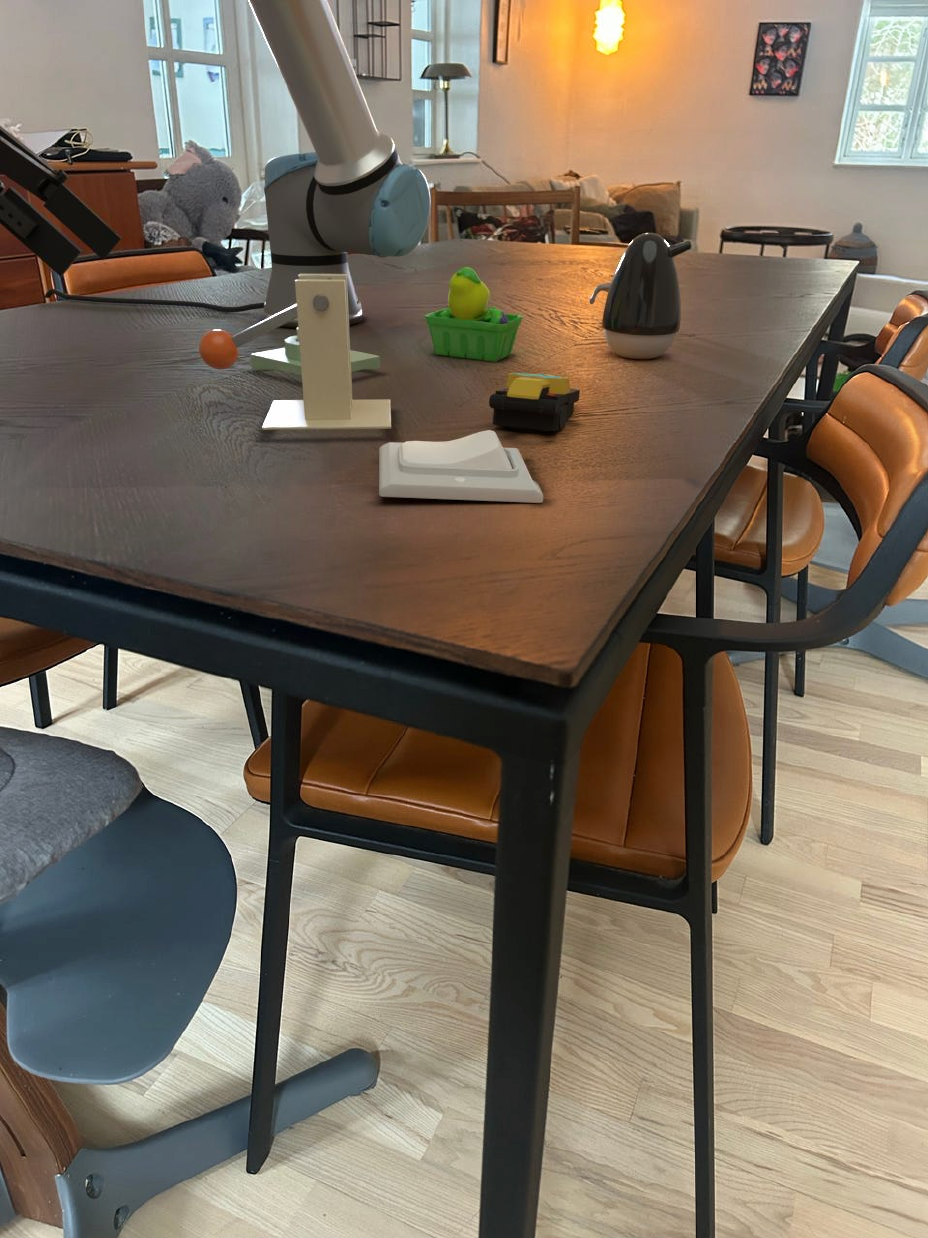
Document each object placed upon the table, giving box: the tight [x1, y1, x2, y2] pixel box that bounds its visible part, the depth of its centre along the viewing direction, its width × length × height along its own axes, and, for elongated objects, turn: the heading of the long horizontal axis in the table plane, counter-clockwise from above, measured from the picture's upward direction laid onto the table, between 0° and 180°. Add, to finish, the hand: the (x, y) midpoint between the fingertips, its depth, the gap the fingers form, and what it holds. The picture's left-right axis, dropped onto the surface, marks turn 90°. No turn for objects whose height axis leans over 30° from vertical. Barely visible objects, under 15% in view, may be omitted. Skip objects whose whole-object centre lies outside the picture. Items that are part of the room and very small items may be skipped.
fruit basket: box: [424, 266, 524, 363], centre depth 114 cm, size 11×9×11 cm
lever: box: [198, 278, 332, 370], centre depth 82 cm, size 14×4×4 cm, turn 95°
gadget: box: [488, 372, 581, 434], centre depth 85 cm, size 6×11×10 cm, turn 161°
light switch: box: [378, 429, 544, 504], centre depth 72 cm, size 11×4×13 cm
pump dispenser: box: [601, 232, 693, 360], centre depth 115 cm, size 10×10×15 cm
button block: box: [250, 335, 381, 377], centre depth 106 cm, size 12×10×4 cm
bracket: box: [261, 274, 392, 431], centre depth 84 cm, size 12×10×14 cm
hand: (94, 255), depth 78 cm, fingers open, 13 cm apart
